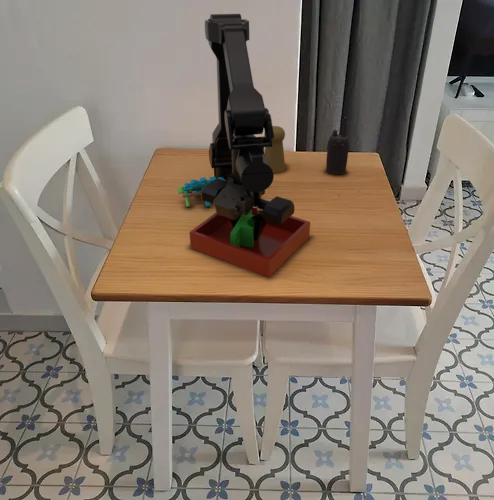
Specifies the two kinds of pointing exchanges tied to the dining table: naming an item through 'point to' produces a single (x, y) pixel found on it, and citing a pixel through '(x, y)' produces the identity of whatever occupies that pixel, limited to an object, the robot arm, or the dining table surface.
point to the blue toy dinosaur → (195, 188)
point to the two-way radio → (337, 151)
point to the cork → (276, 151)
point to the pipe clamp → (243, 231)
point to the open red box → (265, 248)
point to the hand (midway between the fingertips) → (247, 236)
